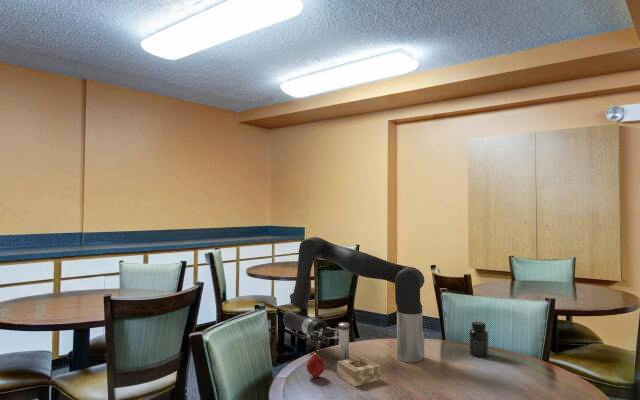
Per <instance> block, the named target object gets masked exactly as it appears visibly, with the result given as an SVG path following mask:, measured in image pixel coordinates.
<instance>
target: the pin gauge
mask: <svg viewBox="0 0 640 400" xmlns="http://www.w3.org/2000/svg"><path fill="white" fill-rule="evenodd" d="M337 325H338V326H337V327H338V328H339V335H338V336H339V338H338V361H343V360H347V359H350V336H349V335H350V323H349V322H345V321H343V322H339V323H338V324H337Z"/></svg>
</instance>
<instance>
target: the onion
mask: <svg viewBox="0 0 640 400" xmlns="http://www.w3.org/2000/svg"><path fill="white" fill-rule="evenodd" d="M325 366H326V365H325V362H324V360H323V359H322V357H321V356H319V355H318V353H316V352H313V355H312V356H311V357H309V359H308V360H307V363H306V370H307V372H308V373H309V375H311V376H312V378H314V379H316V378H318V377H320V376H321V375H322V374H323V373H324V371H325Z"/></svg>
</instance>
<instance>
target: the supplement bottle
mask: <svg viewBox="0 0 640 400" xmlns="http://www.w3.org/2000/svg"><path fill="white" fill-rule="evenodd" d="M486 328H487V327H486V323H485V322H482V321H472V322H471V328H470V330H469V332H468V338H469V339H468V341H469V342H468V346H469V347H468V349H469V350H468V353H469V355H470V356H472V357H474V356H475V357H474V358H480V357H484V358H487V357H489V332H488V331H487V330H486Z"/></svg>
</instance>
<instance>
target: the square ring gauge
mask: <svg viewBox="0 0 640 400" xmlns="http://www.w3.org/2000/svg"><path fill="white" fill-rule="evenodd" d="M336 375H337V376H338V377H339V378H341V379H342V380H344V381H345V382H347V383H348V384H350V385H352V386H354V387H357V386H362V385H365V384H370V383H373V382H374V383H375V382H377V381H381V365H380V364H377V363H376V362H373V361H371V360H369V359H367V358H366V357H363V356H358V357H353V358H349V359H347V360H343V361H339V360H337V362H336Z"/></svg>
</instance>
